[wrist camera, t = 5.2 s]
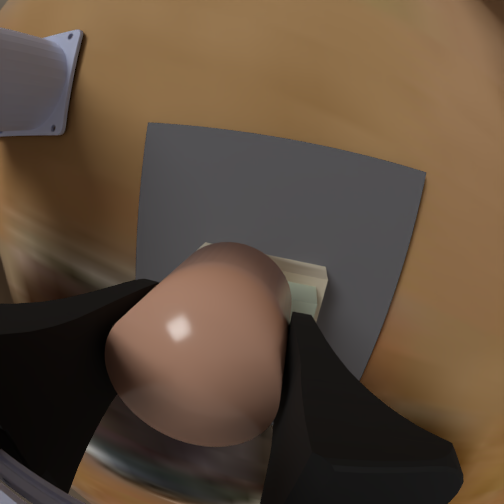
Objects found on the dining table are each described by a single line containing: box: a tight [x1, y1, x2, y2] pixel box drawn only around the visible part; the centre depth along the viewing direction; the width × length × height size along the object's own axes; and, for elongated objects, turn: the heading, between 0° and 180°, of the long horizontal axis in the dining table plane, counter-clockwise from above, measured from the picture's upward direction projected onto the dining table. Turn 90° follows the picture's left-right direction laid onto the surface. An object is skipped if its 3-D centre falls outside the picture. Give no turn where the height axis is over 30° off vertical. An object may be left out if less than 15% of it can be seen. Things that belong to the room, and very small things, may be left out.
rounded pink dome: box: [105, 242, 292, 447], centre depth 9 cm, size 4×4×5 cm
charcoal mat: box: [136, 123, 426, 425], centre depth 19 cm, size 16×20×1 cm
